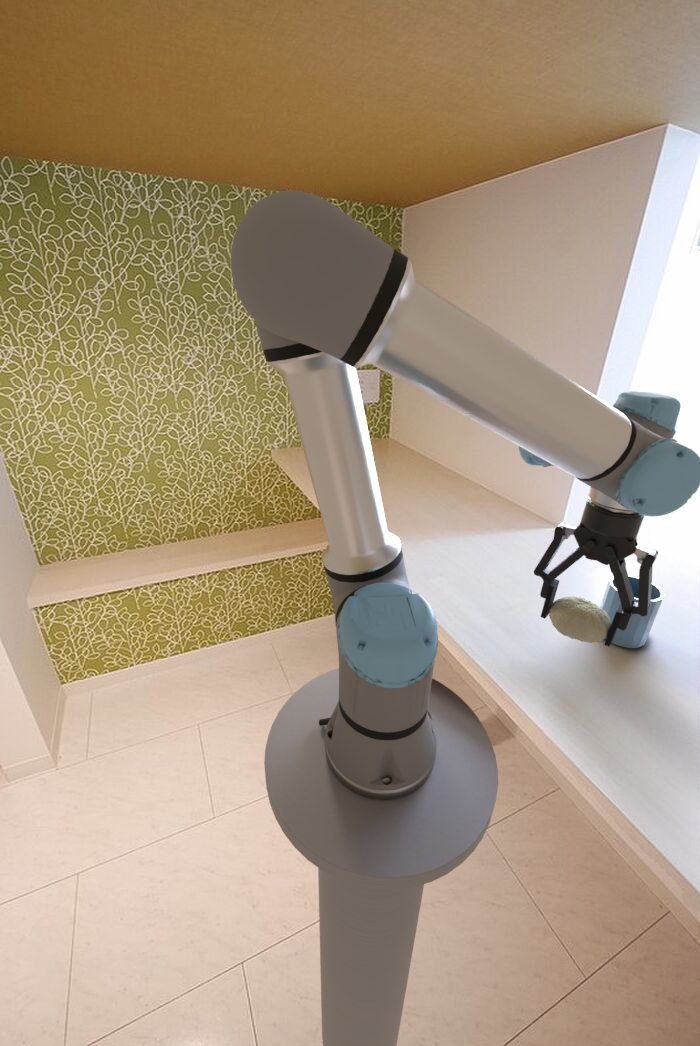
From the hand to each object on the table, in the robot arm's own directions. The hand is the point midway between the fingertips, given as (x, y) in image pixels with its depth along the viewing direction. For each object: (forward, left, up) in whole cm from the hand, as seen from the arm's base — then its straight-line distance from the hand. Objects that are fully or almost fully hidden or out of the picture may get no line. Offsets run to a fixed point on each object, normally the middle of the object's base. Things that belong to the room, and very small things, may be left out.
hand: (575, 627), depth 72 cm
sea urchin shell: (0, 0, 0) cm, 0 cm away
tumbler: (+5, +12, -6) cm, 14 cm away
